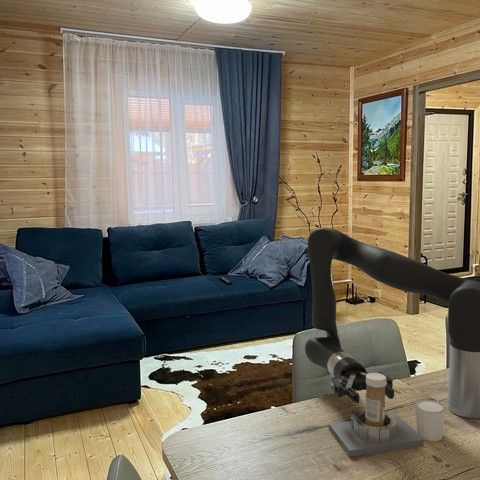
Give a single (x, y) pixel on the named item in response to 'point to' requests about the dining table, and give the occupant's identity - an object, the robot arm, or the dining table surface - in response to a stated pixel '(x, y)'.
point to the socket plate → (362, 447)
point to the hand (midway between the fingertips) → (375, 397)
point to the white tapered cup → (430, 419)
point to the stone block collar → (373, 428)
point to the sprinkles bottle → (375, 399)
